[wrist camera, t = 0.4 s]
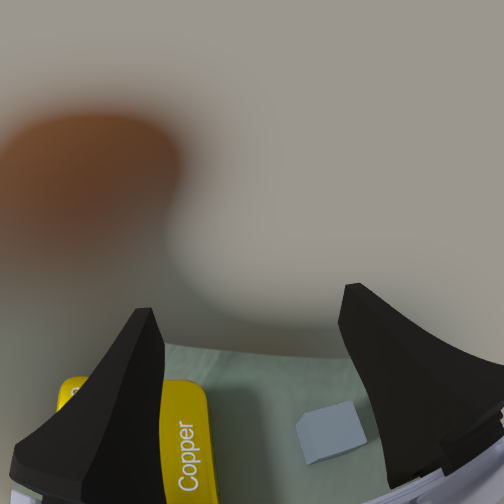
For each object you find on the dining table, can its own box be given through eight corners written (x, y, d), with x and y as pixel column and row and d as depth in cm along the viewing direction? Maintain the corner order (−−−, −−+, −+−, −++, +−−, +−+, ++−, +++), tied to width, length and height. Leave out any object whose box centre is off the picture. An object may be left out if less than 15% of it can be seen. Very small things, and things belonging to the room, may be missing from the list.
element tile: (225, 530, 16) (223, 536, 13) (72, 513, 14) (47, 511, 11) (208, 394, 27) (204, 375, 24) (78, 390, 25) (58, 370, 22)
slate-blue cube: (349, 452, 22) (367, 442, 19) (306, 465, 21) (319, 458, 18) (336, 414, 25) (351, 399, 22) (295, 425, 24) (305, 412, 21)
